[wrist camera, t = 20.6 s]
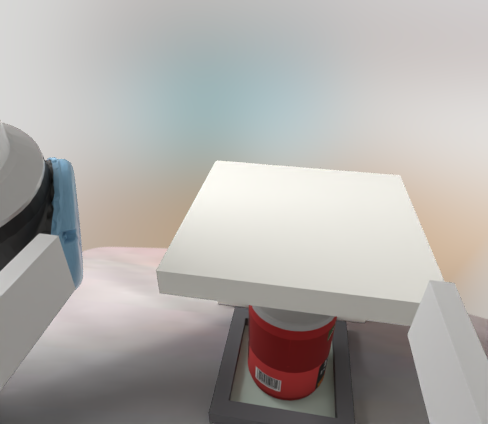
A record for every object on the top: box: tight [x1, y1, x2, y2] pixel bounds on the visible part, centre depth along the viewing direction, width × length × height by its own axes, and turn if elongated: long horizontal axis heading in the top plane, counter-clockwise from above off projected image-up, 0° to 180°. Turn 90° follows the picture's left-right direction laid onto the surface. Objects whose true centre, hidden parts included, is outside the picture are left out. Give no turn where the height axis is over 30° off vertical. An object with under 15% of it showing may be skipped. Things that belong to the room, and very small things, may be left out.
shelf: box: [156, 161, 444, 326], centre depth 35 cm, size 17×18×19 cm
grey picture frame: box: [209, 307, 355, 424], centre depth 39 cm, size 13×13×2 cm
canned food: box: [248, 305, 337, 401], centre depth 36 cm, size 8×8×11 cm
